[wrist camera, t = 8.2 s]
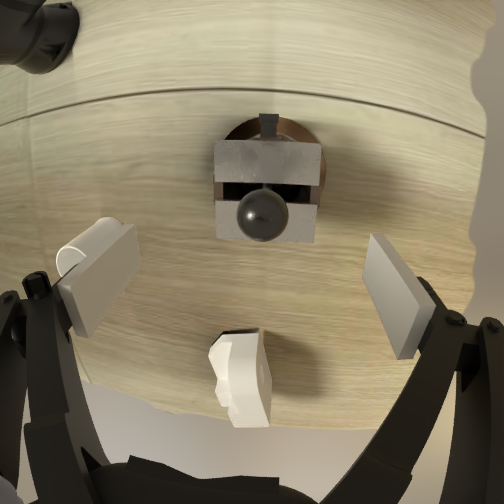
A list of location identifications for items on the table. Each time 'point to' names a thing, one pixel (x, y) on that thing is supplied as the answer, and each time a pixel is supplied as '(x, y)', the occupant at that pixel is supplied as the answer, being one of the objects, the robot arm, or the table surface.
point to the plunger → (263, 211)
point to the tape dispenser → (243, 377)
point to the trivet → (282, 127)
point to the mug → (85, 243)
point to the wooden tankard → (268, 179)
